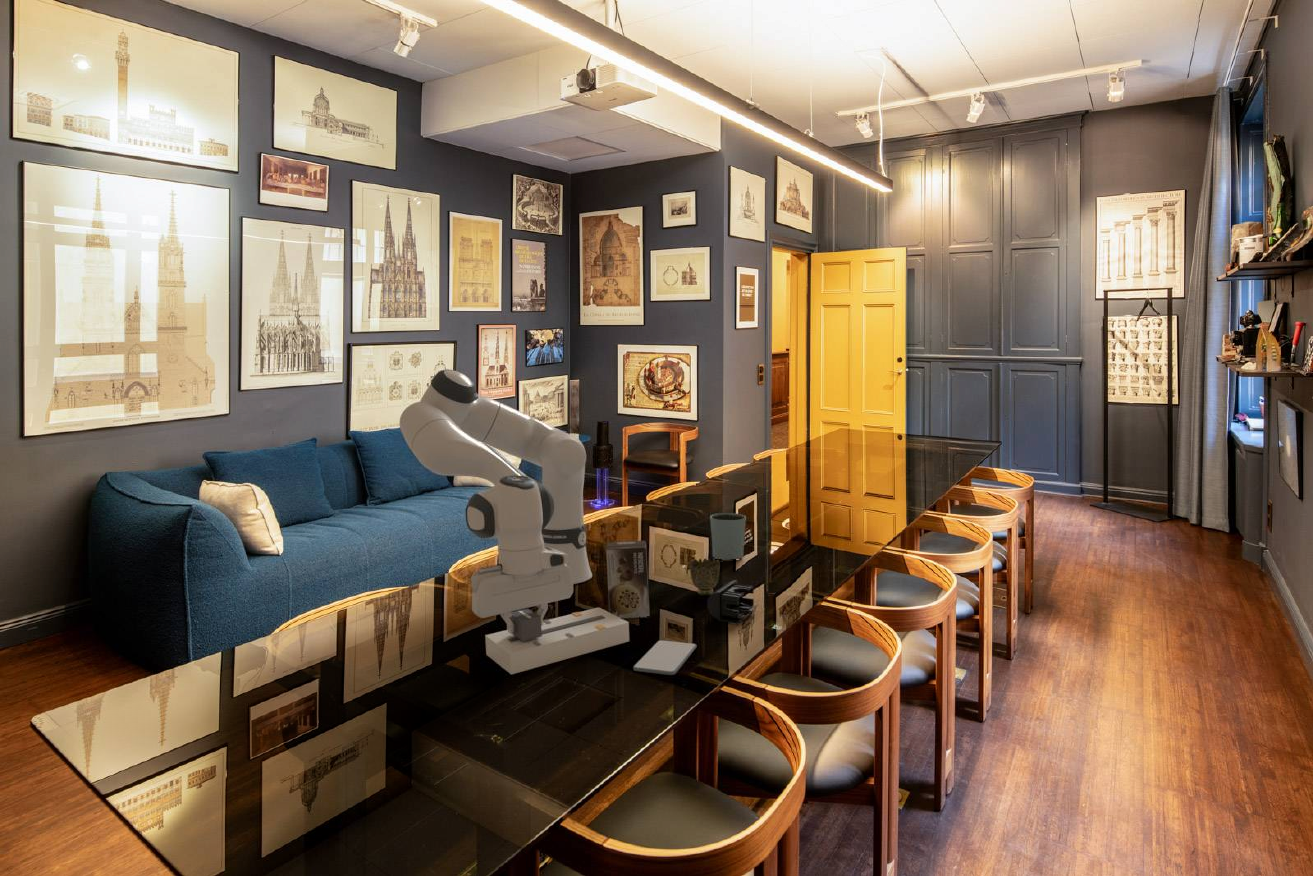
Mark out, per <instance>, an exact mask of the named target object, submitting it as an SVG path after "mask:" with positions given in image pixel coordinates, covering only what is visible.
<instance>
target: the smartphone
mask: <svg viewBox="0 0 1313 876" xmlns="http://www.w3.org/2000/svg"><path fill="white" fill-rule="evenodd" d="M696 648H697V644H696V643H691V642H683V641H682V642H680V641H671V640H658V641H657V642H656V643H654V644H653V646H652V647H651V648H649V650H648V651H647V652H645V654H644V655H643V656H642V657H641V658H640V659H639V660H637V662H636V663H635V664H634V665H633V668H632V670H633V671H635V672H641V673H642V672H643V673H650V674H651V673H652V674H658V675H668V676H674V675H676V674H677V673H678V671H679V670H680V669H681V668H682V667H683V665H684V664H685V663H686V661H687V660H688V658H689V657H691V655H692V653H693V652H694V651H695V650H696Z"/></svg>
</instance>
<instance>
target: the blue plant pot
mask: <svg viewBox="0 0 1313 876" xmlns="http://www.w3.org/2000/svg"><path fill="white" fill-rule="evenodd" d="M709 520H710V521H709V522H710V531H711V533H710V534H711V542H712V543H711V547H712V549H711V550H712V558H713V557H714V558H715V559H722V560H730V559H740V558H742V557H743V558H744V548H745V545H744V544H745V534H746V533H745V532H746V524H747V523H746V521H747V517H746V515H744V514H740V513H734V512H722V513H721V512H720V513H714V514H711V515H710V516H709ZM714 558H713V559H714ZM743 558H742V559H743Z"/></svg>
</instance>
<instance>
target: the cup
mask: <svg viewBox="0 0 1313 876" xmlns="http://www.w3.org/2000/svg"><path fill="white" fill-rule="evenodd" d="M689 562H690V563H689V570H690V577H691V583H692V584H693V586H694V587H695V588H697V593H698V595H699V596H703V595H708V596H711V595H712V594H713V593H714V589H713V588H715V587H716V586H717V584H718V582H719V579H720V569H721V568H720V567H721V561H719V560H715V559H714V558H713V559H711V558H708V559H707V558H704V559H703V560H702V558H699V559H698V560H697V559H696V558H694V559H693V560H689Z"/></svg>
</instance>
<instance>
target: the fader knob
mask: <svg viewBox="0 0 1313 876" xmlns="http://www.w3.org/2000/svg"><path fill="white" fill-rule="evenodd" d="M509 618H510V620H511V621H512V622H513V621H514V622H515V623H517V625H518V627H517V629H518V632H515V633H511V634H513V635H514V636H516V637H517V638H519V639H520V640H522V641H526V640H530V639H534V638H538V637H542V630H541V616H539V615H537V612H534V611H532V610H531V609H529V608H524V609H520V610H516V611H512V616H511V617H509Z"/></svg>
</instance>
